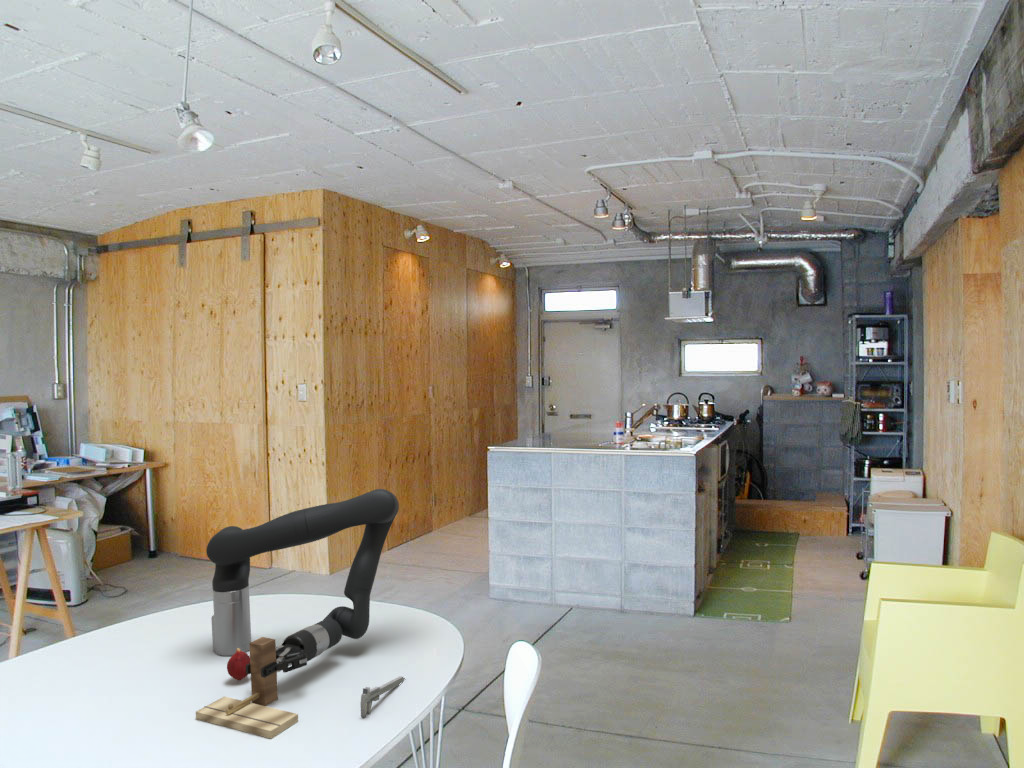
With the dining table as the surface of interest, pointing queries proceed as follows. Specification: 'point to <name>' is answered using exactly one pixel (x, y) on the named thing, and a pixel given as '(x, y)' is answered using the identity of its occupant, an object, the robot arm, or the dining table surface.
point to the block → (261, 687)
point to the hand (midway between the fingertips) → (254, 671)
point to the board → (248, 717)
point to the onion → (238, 665)
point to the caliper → (376, 694)
